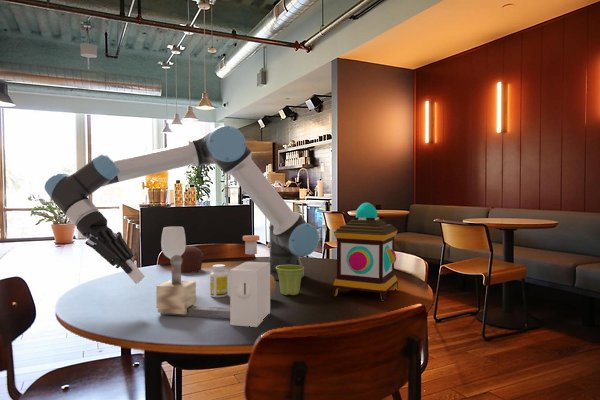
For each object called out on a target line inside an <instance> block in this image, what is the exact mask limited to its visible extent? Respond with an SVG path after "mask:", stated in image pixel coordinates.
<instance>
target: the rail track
mask: <svg viewBox="0 0 600 400" xmlns="http://www.w3.org/2000/svg"><path fill="white" fill-rule="evenodd" d="M160 315H168V316H180V317H193V318H195V317H196V318H209V319H223V320H230V307H220V306H219V307H217V306H207V305H206V306H204V305H202V306H201V305H195V306H189V307H188V308H187V313H186V314H173V313H160Z"/></svg>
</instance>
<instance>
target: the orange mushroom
mask: <svg viewBox="0 0 600 400" xmlns="http://www.w3.org/2000/svg"><path fill="white" fill-rule="evenodd" d="M242 241H244V242H245V243H244V245H245V247H244V249H245V250H244V251H245V253H244V254H245V255H257V253H258V250H257V249H258V241H260V235H258V234H257V235H254V234H252V235H251V234H250V235H249V234H248V235H246V234H245V235H242Z"/></svg>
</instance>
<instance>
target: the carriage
mask: <svg viewBox="0 0 600 400" xmlns="http://www.w3.org/2000/svg"><path fill="white" fill-rule="evenodd" d="M169 260H170V262H169V263H170V265H171V279H169V280H166V281H164V282H162V283H159V284H158V285H156V287H155V288H156V289H155V290H156V291H155V293H156V299H155V300H156V301H155V302H156V305H155V306H156V309H157V313H160V314H161V313H173V314H186V313H187V308H188V307H189V306H196V303H197V298H196V297H197V296H196V295H197V290H196V289H197V283H196V282H197V281H193V280H182V272H181V264H182V257H181V256H179V255H174V256H172V257H171V259H169Z"/></svg>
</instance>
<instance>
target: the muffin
mask: <svg viewBox="0 0 600 400" xmlns="http://www.w3.org/2000/svg"><path fill="white" fill-rule="evenodd" d="M204 255H205V254H204V253H203V251H202V250H201V249H200V248H199V247H196V246H193V245H189V246H186V248H185V251H184V253H183V254H182V255H181V257H182V264H181V273H183V274H186V273H187V274H189V273H190V274H192V273H197V272H200V271H202V265H203V264H202V263H203V257H204Z"/></svg>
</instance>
